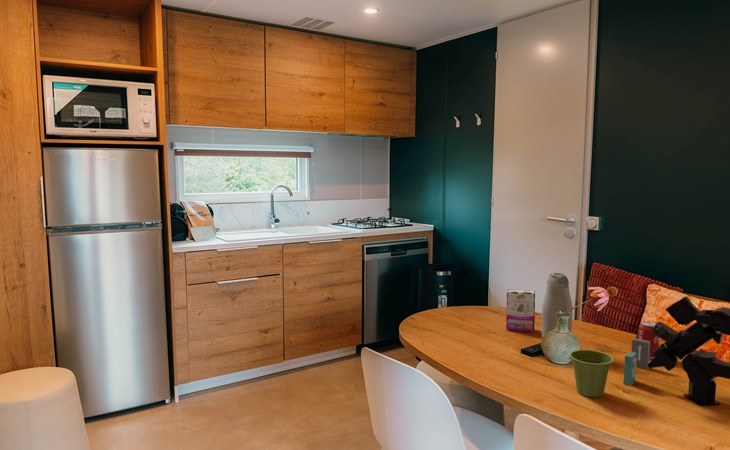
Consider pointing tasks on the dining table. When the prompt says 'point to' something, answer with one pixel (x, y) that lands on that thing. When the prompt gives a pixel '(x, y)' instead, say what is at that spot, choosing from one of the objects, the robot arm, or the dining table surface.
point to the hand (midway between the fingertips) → (648, 366)
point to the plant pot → (591, 371)
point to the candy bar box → (520, 310)
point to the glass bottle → (556, 301)
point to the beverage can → (649, 336)
